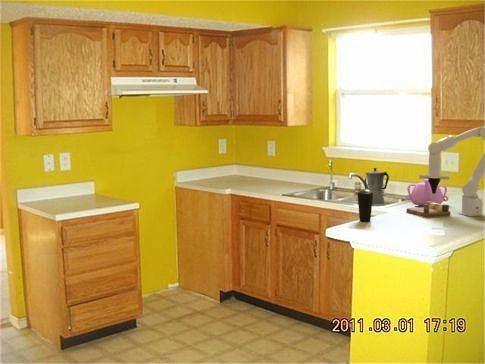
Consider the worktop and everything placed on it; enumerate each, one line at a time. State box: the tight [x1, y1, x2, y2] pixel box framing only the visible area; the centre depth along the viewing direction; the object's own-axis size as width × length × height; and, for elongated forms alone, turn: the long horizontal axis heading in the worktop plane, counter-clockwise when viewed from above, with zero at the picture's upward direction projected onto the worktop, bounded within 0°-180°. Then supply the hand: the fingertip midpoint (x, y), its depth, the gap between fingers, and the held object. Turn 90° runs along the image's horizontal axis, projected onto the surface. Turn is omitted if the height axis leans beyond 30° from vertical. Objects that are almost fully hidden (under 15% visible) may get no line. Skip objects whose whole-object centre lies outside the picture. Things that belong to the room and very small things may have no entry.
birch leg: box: [427, 201, 450, 211], centre depth 294 cm, size 15×3×3 cm, turn 19°
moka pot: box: [365, 167, 390, 206], centre depth 324 cm, size 10×15×20 cm, turn 45°
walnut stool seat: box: [406, 204, 451, 218], centre depth 292 cm, size 16×14×6 cm
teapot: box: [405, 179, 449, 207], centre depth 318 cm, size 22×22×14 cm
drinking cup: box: [356, 177, 374, 223], centre depth 274 cm, size 8×8×20 cm
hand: (434, 193), depth 297 cm, fingers closed
